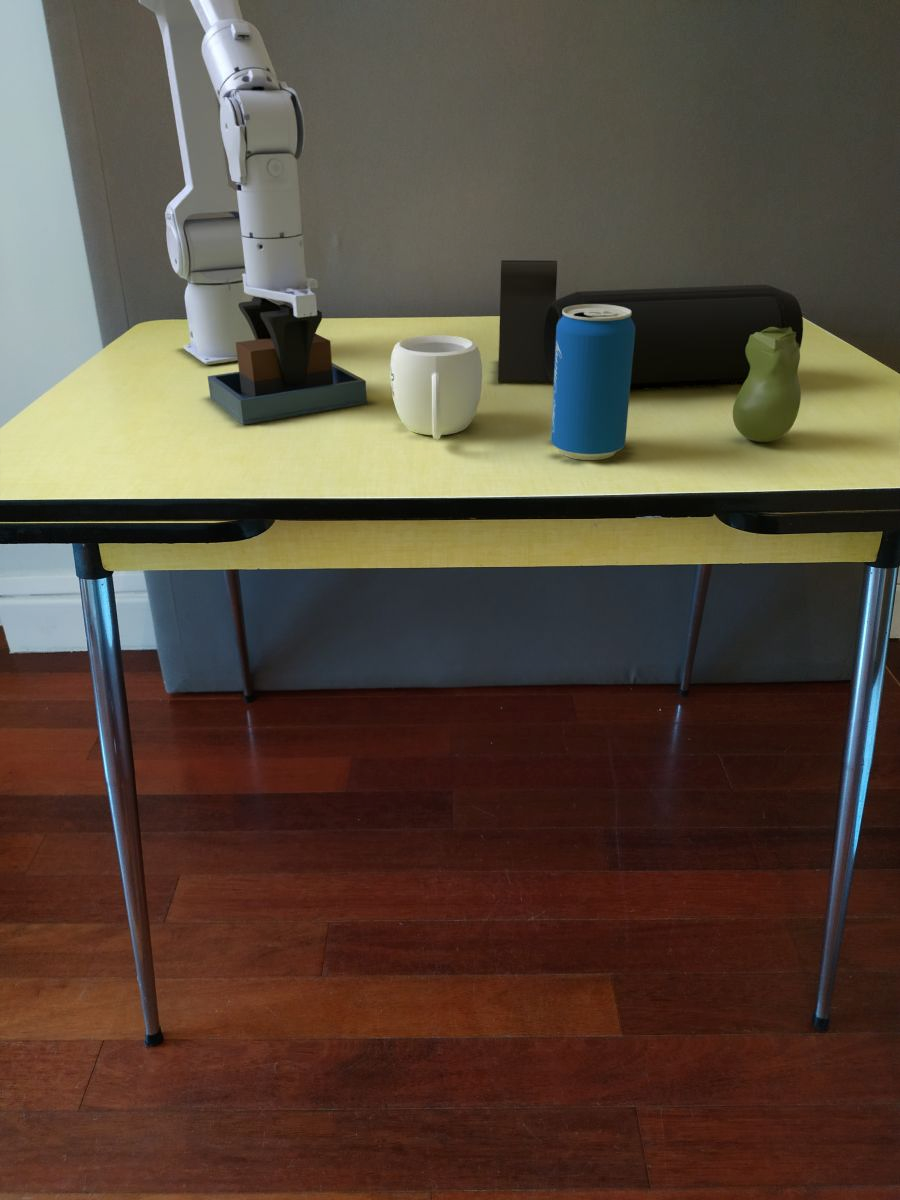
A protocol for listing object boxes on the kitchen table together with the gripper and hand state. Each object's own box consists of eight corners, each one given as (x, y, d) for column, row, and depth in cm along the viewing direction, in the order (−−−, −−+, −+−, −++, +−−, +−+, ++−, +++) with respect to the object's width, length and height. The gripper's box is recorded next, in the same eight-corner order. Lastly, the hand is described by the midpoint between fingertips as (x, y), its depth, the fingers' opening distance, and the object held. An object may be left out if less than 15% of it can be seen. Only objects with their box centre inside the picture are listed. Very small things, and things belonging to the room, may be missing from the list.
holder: (210, 398, 95) (207, 376, 94) (326, 380, 101) (325, 358, 100) (243, 425, 87) (240, 400, 86) (367, 403, 93) (366, 380, 92)
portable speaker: (755, 367, 104) (770, 276, 99) (797, 391, 96) (815, 293, 91) (538, 378, 101) (542, 284, 96) (562, 404, 92) (568, 303, 87)
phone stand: (552, 384, 99) (558, 268, 93) (497, 383, 99) (499, 268, 93) (551, 363, 107) (556, 254, 101) (500, 362, 107) (502, 254, 101)
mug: (394, 414, 90) (391, 333, 86) (479, 413, 90) (480, 332, 86) (388, 456, 79) (384, 366, 76) (485, 455, 79) (486, 365, 76)
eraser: (241, 391, 93) (235, 342, 91) (317, 379, 97) (313, 332, 95) (256, 402, 90) (250, 351, 88) (333, 389, 94) (330, 340, 91)
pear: (804, 446, 81) (826, 331, 76) (754, 453, 79) (773, 337, 74) (764, 427, 86) (782, 318, 81) (716, 434, 84) (732, 323, 79)
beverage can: (544, 439, 83) (550, 303, 77) (614, 437, 83) (625, 302, 78) (557, 464, 77) (565, 320, 71) (632, 461, 78) (646, 318, 72)
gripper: (342, 240, 82) (351, 388, 89) (283, 224, 93) (295, 356, 100) (269, 246, 79) (284, 399, 86) (216, 229, 90) (233, 365, 97)
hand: (285, 377), depth 93 cm, fingers closed on eraser, 4 cm apart
